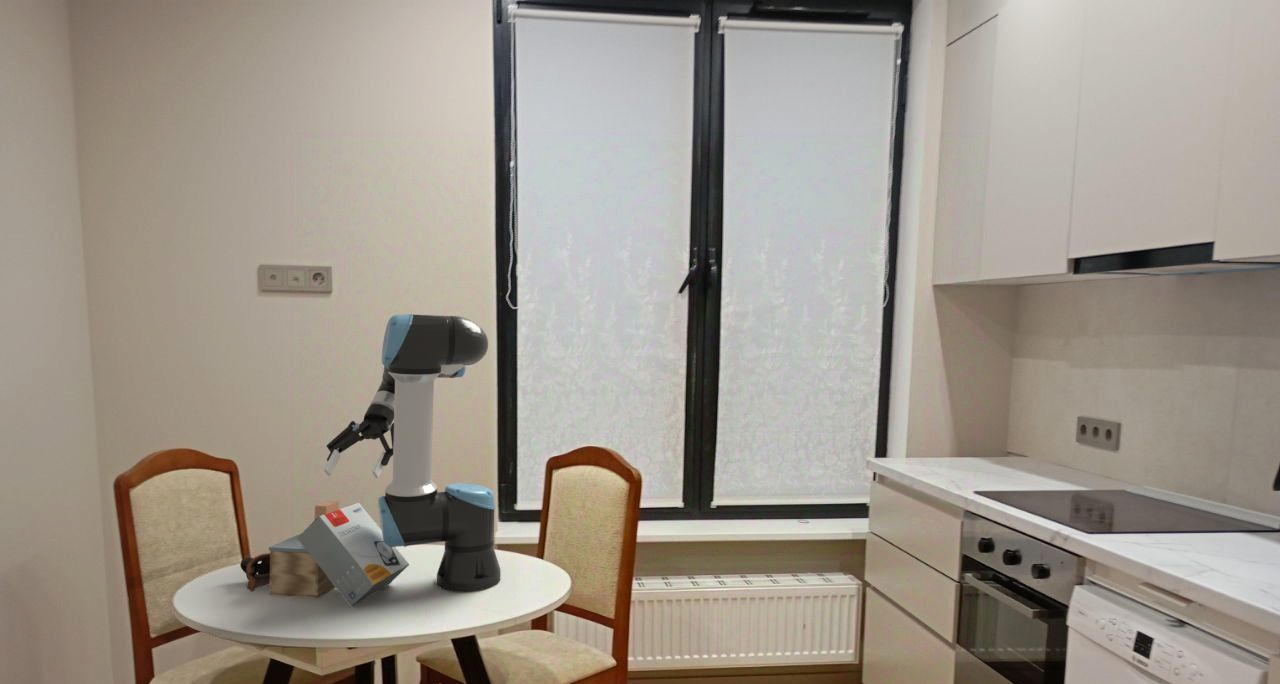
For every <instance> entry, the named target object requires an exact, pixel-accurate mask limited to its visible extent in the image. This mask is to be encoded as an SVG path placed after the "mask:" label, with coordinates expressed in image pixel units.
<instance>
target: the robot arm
mask: <svg viewBox="0 0 1280 684" xmlns="http://www.w3.org/2000/svg"><path fill="white" fill-rule="evenodd" d="M384 331H385V332H384V337H383V342H382V343H383V344H382V350H381V351H382V352H381V364H382V365H383V373H382V378H381V379H382V380H381V382H380V384H379V387H378V390H377V391H376V393H375V394H374V397H373V398H372V400H371V402H370V404H369V406H368V408H367V409H366V411H365V414H364V416H363V420H362V421H361V422H360V423H356V422H355V421H354V420H351V422H350V423H349V424H348V425H347V427H345V428H344V429H343V430H342V431H341V432H340V433H339V434H337V436H335V437H334V438H333V439H332V440H331V441H330V442H328V443H327V444H326V448H327V449H328V451H329V455H328V456H327V458H326V464H325V467H324V468H323V471H324V473H325V474H326V475H327V476H329V477H331V475H332V474H333V472H334V470H335V468H336V467H337V464H338V462H339V461H340V458H341V456H342V455H341V453H343V452H345V451H346V450H347V449H349V448H350V447H352V446H354V445H355V444H357V443H359V442H362V441H363V440H374V441H375V440H377V439H379V440H380V443H381V445H382V447H383V450H384V451H383V450H381V452H380V454H379V455H378V459H377V461H376V463H375V464H374V467H373V469H372V471H371V472H372V474H373V476H374V477H375V478H376V479H377V478H378V479H379V478H380V476H381V473H382V471H383V469H384V467H386V466H387V465H388V463H389V461H390V460H391V457H392V481H391V483H389V484H388V485H387V486H386V487H385V489H384V490H385V491H384V492H385V495H381V496H380V497H378V499H377V502H378V503H377V504H378V514H379V522H380V529H381V530H382V535H383V540H384V543H385V544H386V545H387V546H389V547H404V548H407V547H410V546H417V545H418V546H419V545H425V544H426V545H427V544H434V543H441V542H444V552H443V555H442V558H441V561H440V564H439V567H438V570H437V573H436V585H437V586H438V588H440V589H442V590H445V591H450V592H475V591H480V590H481V591H482V590H485V589H488V588H491V587H493V586H495V585H497V584H498V583H500V581H501V575H502V574H501V567H500V564H499V560H498V557H497V553H496V552H495V546H494V545H495V544H494V543H495V542H494V541H495V510H496V506H495V495H494V491H493V490H491V488H489V487H487V486H483V485H479V484H471V483H459V482H458V483H449V484H447V485H446V486H445V488H444V491H438V485H437V484H436V483H435V481H433V480H432V463H433V462H432V457H433V422H434V421H433V419H434V418H433V416H434V394H435V393H434V390H435V389H434V387H435V380H436V379H437V378H439V379H440V378H443V379H445V378H446V379H448V378H450V379H456V378H463V376H464V375H465V373H466V369H467V368H466V367H467V366H471V365H475V364H477V363H478V362H480V361H481V360H482V359H483V358H484V357H485V355H486V354H487V352H488V349H489V340H488V337H487V334H486V332H485V331H484V329H483V328H482V327H481V326H480V325H478V324H477V323H476V322H475V321H472V320H471V319H469V318H466V317H462V316H459V315H458V316H457V315H433V314H431V315H429V314H428V315H427V314H412V313H410V314H394V315H392V316H391V317H390V318H389V319H388V321H387V324H386V327H385V330H384ZM387 432H390V440H391V447H390V445H389V444H388V441H387V439H386V437H385V434H386V433H387ZM360 434H361V435H360Z"/></svg>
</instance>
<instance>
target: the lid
mask: <svg viewBox="0 0 1280 684" xmlns="http://www.w3.org/2000/svg"><path fill="white" fill-rule="evenodd" d="M339 502H340V501H335V500H326V501H324V502H321V503H318V504H316V505H314V521H315V520H316V519H317V518H318V517H319V516H322V515H324V514H327V513H330V512H333V511H336V510H339ZM302 533H303V532H302ZM302 533H299V534H297V535H294V536H292V537H290V538H287V539H285V540H283V541H280V542H277V543H275V544H273V545H270V546H269V547H268V551H269V552H270V551H283V552H299V553H309V552H308V551H307V550H306V549H305V547H304V546H303V545H302V544H301V542H300V541H299V540H298V537H299V536H300V535H301V534H302Z"/></svg>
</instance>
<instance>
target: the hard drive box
mask: <svg viewBox="0 0 1280 684" xmlns="http://www.w3.org/2000/svg"><path fill="white" fill-rule="evenodd" d="M300 534H301V533H300ZM298 540H299V541H300V542H301V544H302V545H303V546H304V547H305V549H306V550H307V551H308V552H309V554H310V555H311V556H312V557H313V559H314V560H315V561H316V563H317V564H318V565H319V566H320V568H321V569H322V570H323V572H324V573H325V574H326V575H327V577H328V578H329V579H330V580H331V582H332V583H333V584H334V586H335V587H336V588H335V589H337V591H338V593H339V594H340V595H342V597H343V599H345V601H346V602H347V604H348V606H350V607H351V608H352V607H354V606H356V605H358V604H359V603H361V602H363V601H364V600H366V599H367V598H369V597H370V596H372V595H374V594H375V593H377V592H379V591H381V590H382V589H385V587H388V585H390V584H391V583H392V582H393V581H394V580H395V579H396V578H397V577H399V576H400V575H401V573H403V572H404V570H406V569H407V568H408V566H410V563H409V562H408V561H407V559H406V558H405V557H404V556H403V554H402V553H401V552H400V551H399V550H398V549H397V548H396V547H389V546H387V545H386V544H385V543H384V540H383V535H382V530H381V527H379V526H378V524H377V523H376V522H375V520H374V519H373V518H372V517H371V516H370V514H369V513H368V512H367V511H366V509H365V508H364V507H363V506H362V505H361V503H360V502H357V503H354V504H352V505H348V506H345V507H342V508H338V510H336V511H333V512H330V513H327V514H324V515H322V516H319V517H318V518H317V519H316V520H315V519H314V520H313V521H312V523H311V524H309V526H308V527H307V528H306V529H305V530H304V531H302V534H301V535H300V536H299V537H298Z"/></svg>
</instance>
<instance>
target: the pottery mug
mask: <svg viewBox="0 0 1280 684" xmlns="http://www.w3.org/2000/svg"><path fill="white" fill-rule="evenodd" d="M240 568H241V570H242V571H243V573H244V574H245V575H246V578H247V584H246V587H247V590H249V591H250V592H254V590H255V589H257V588H261V587H263V586H267V585H270V552H268V553H262V554H259V555H257V556H254V557H244V558H243V559H242V560H241V562H240Z"/></svg>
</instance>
